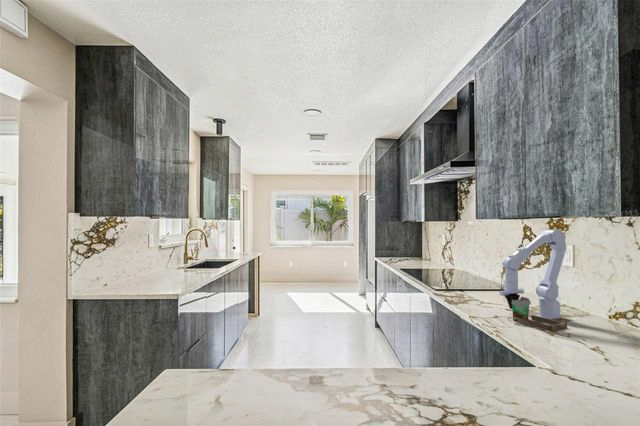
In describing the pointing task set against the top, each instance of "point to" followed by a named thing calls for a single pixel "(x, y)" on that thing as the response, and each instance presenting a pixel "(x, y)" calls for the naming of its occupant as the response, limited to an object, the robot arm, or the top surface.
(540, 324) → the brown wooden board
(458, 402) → the top surface
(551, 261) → the robot arm
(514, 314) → the food container
